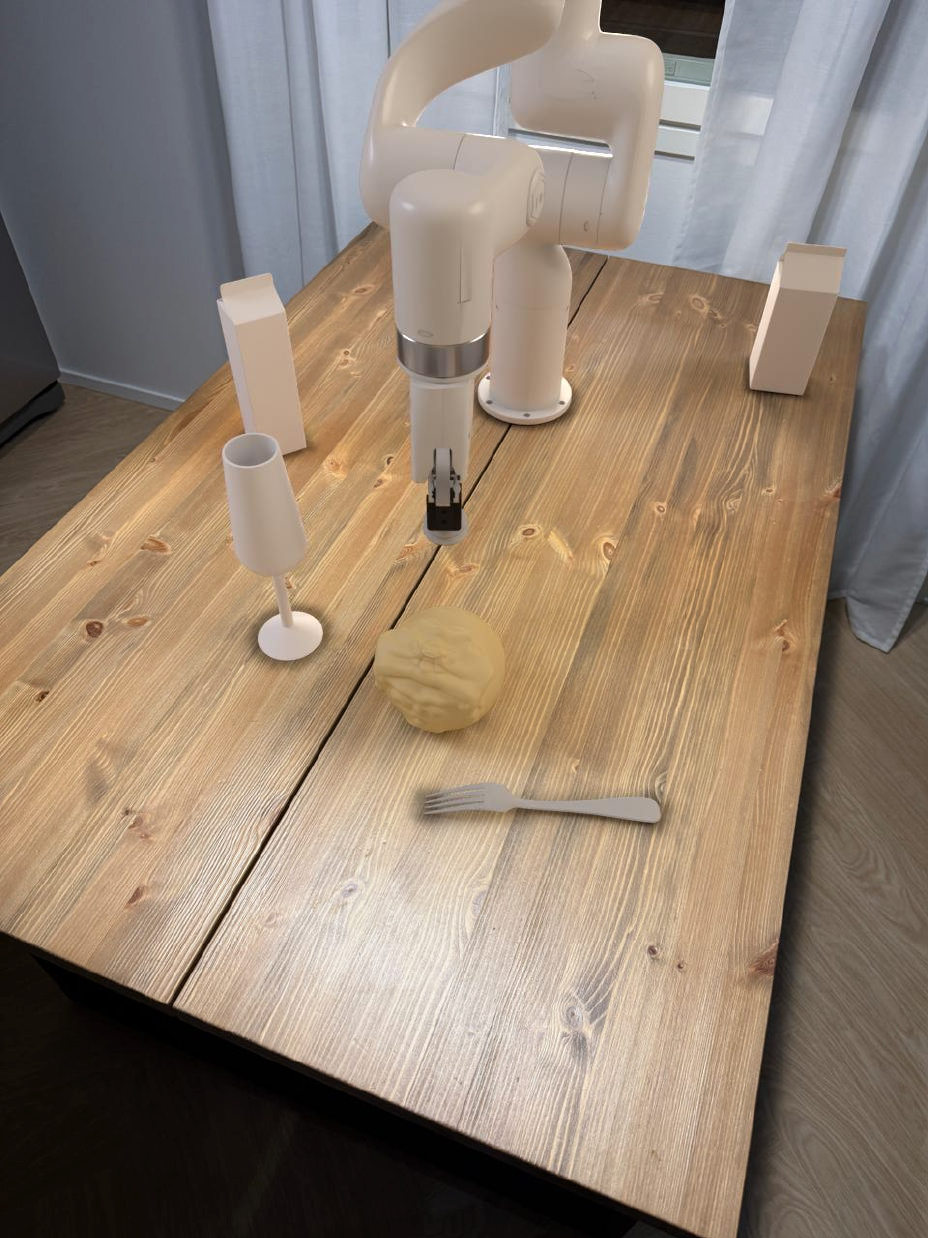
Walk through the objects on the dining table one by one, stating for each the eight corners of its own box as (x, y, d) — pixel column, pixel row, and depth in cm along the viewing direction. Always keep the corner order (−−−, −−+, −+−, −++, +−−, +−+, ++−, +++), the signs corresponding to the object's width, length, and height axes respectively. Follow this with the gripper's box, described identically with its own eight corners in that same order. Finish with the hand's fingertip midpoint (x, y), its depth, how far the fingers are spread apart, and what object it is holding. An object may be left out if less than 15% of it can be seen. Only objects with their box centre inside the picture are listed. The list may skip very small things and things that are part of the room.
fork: (654, 839, 80) (663, 824, 78) (423, 819, 78) (426, 804, 76) (650, 811, 82) (659, 796, 80) (425, 791, 80) (428, 775, 78)
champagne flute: (270, 669, 89) (223, 485, 71) (248, 624, 93) (199, 438, 75) (332, 646, 91) (303, 461, 73) (309, 603, 95) (275, 417, 77)
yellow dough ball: (363, 728, 85) (353, 657, 77) (415, 638, 92) (411, 565, 84) (475, 767, 82) (477, 699, 74) (519, 672, 89) (525, 599, 81)
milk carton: (802, 396, 121) (849, 262, 106) (749, 390, 121) (788, 255, 107) (800, 367, 125) (845, 234, 111) (748, 361, 126) (786, 228, 112)
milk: (307, 448, 112) (283, 284, 96) (261, 462, 110) (229, 298, 94) (288, 422, 116) (262, 259, 99) (244, 435, 114) (210, 272, 97)
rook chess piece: (476, 524, 87) (478, 460, 81) (456, 553, 85) (457, 489, 79) (435, 511, 88) (434, 446, 82) (414, 539, 86) (412, 475, 80)
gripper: (401, 288, 76) (409, 458, 90) (390, 402, 65) (401, 575, 79) (488, 288, 76) (483, 458, 90) (492, 403, 65) (485, 576, 79)
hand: (444, 512), depth 85 cm, fingers closed on rook chess piece, 3 cm apart
